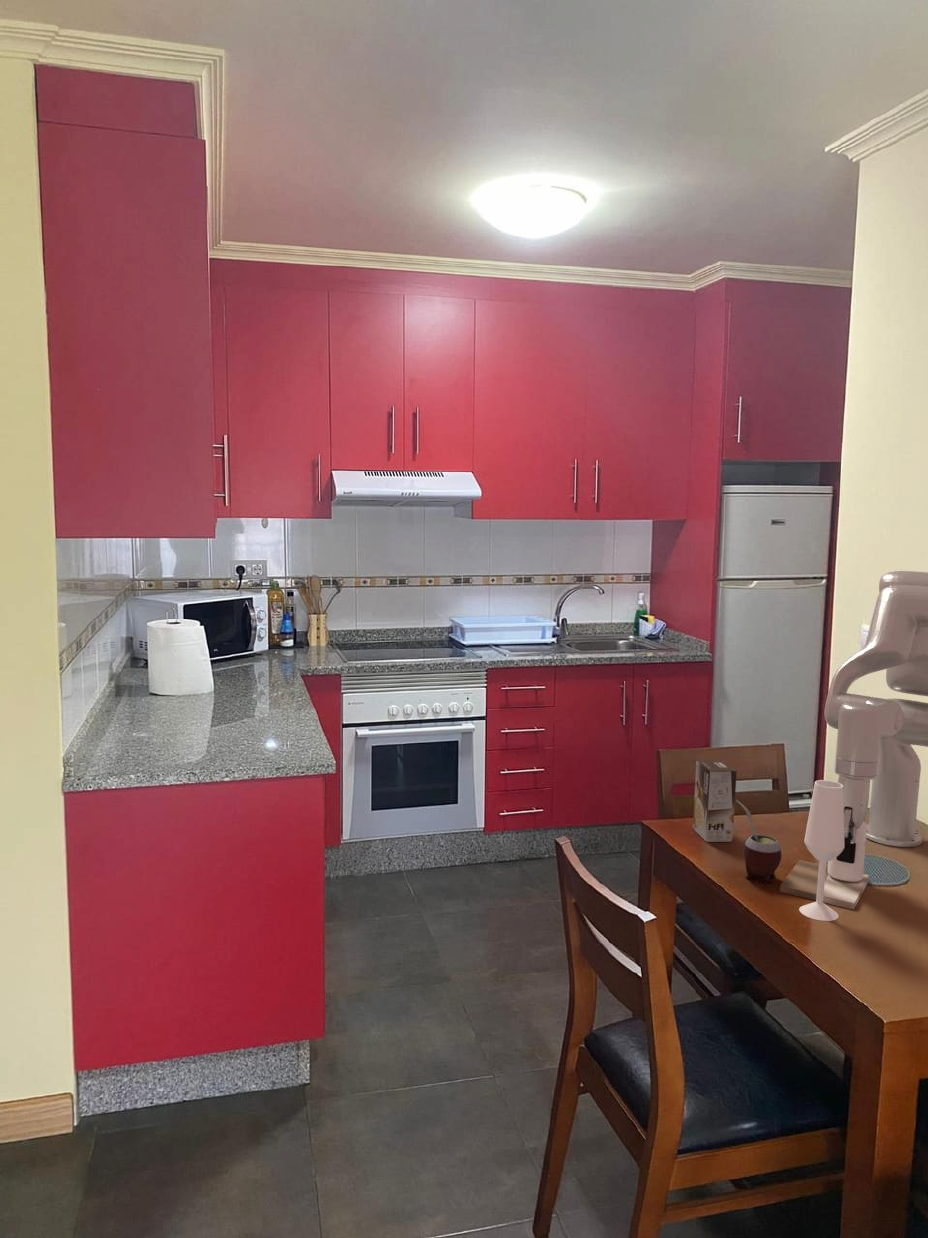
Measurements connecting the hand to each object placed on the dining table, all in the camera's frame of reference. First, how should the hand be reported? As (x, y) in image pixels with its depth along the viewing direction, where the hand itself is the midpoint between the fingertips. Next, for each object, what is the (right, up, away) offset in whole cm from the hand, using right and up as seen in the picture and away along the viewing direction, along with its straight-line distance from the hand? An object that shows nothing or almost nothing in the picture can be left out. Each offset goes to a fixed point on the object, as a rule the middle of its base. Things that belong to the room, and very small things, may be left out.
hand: (848, 855), depth 177 cm
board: (-5, -6, -1) cm, 8 cm away
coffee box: (-20, -2, +26) cm, 32 cm away
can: (-1, -5, +1) cm, 5 cm away
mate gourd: (-17, -5, +2) cm, 18 cm away
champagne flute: (-11, -7, -13) cm, 18 cm away
